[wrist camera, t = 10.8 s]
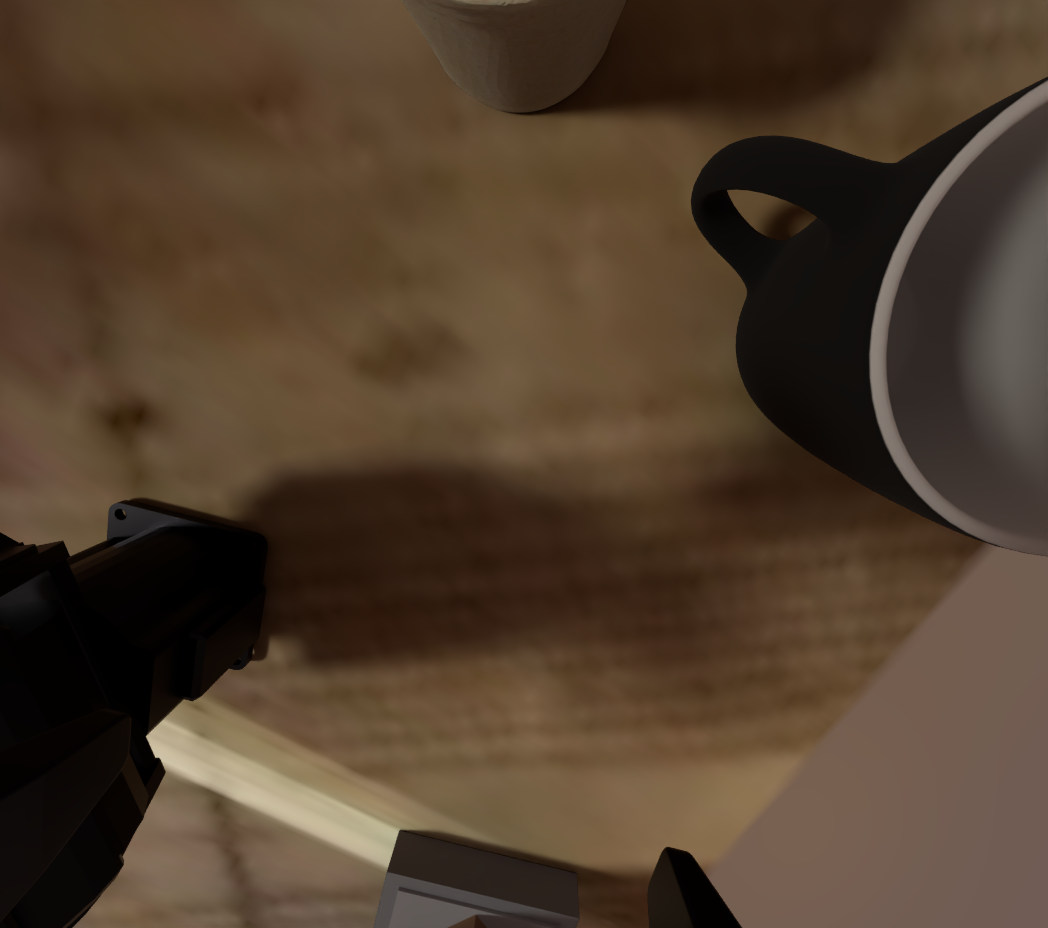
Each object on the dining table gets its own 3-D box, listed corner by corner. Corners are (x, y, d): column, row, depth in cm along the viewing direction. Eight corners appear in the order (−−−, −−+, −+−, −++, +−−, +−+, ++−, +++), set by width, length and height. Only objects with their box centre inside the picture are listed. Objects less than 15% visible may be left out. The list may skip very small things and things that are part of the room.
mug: (1005, 297, 18) (1553, 238, 8) (837, 496, 20) (1120, 642, 10) (737, 97, 17) (1000, -244, 7) (587, 327, 19) (631, 307, 9)
